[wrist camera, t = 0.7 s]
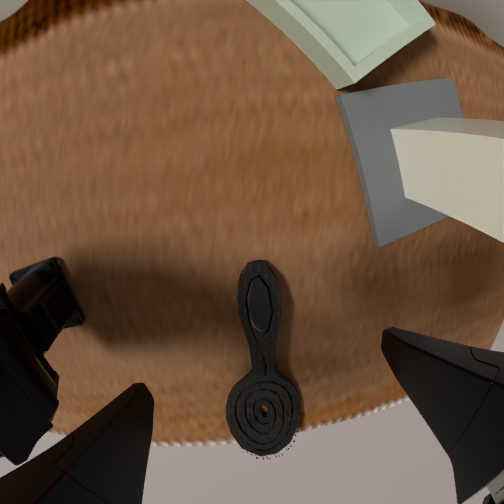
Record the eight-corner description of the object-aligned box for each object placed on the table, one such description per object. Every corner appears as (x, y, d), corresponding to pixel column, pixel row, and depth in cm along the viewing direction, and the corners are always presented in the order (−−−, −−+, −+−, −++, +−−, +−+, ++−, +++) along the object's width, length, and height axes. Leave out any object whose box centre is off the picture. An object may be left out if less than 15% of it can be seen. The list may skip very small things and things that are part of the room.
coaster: (373, 243, 23) (378, 247, 22) (335, 96, 18) (340, 95, 17) (468, 201, 22) (474, 203, 21) (445, 79, 18) (452, 78, 17)
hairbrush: (318, 266, 20) (302, 455, 28) (305, 250, 23) (296, 434, 32) (198, 277, 19) (233, 464, 28) (202, 258, 23) (231, 441, 31)
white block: (405, 197, 20) (524, 254, 9) (390, 129, 18) (524, 142, 7) (450, 179, 20) (561, 221, 9) (439, 117, 18) (560, 130, 7)
